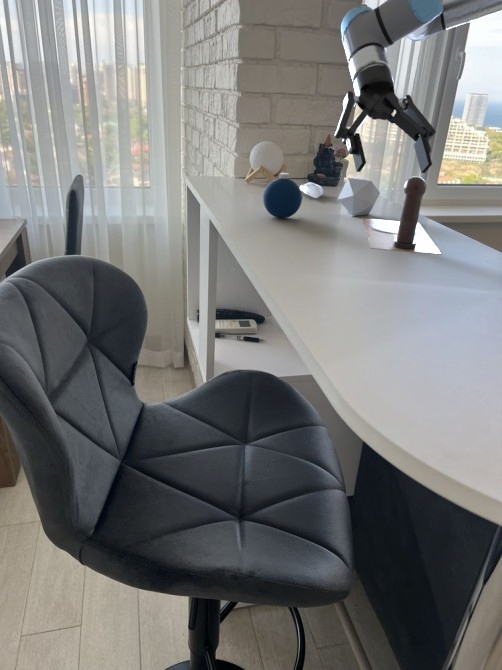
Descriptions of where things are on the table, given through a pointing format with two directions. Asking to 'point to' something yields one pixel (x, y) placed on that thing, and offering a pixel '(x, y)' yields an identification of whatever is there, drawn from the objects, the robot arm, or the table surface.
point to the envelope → (395, 236)
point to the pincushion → (312, 189)
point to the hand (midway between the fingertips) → (394, 168)
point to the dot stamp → (410, 213)
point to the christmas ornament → (282, 197)
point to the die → (358, 196)
